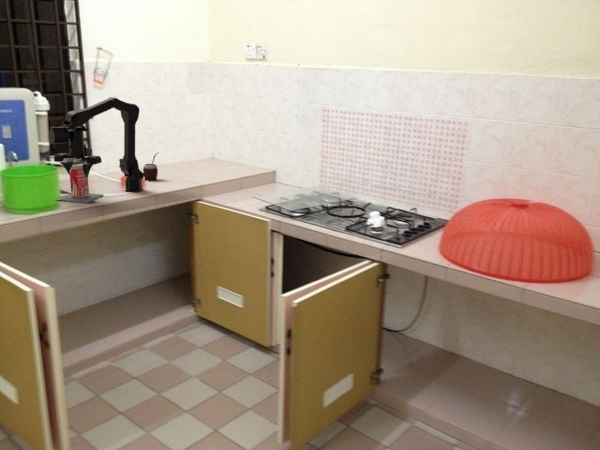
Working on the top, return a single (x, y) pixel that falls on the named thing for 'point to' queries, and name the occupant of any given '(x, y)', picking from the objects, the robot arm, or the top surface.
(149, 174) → the mate gourd
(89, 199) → the charcoal mat
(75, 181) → the soda can
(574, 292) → the top surface
